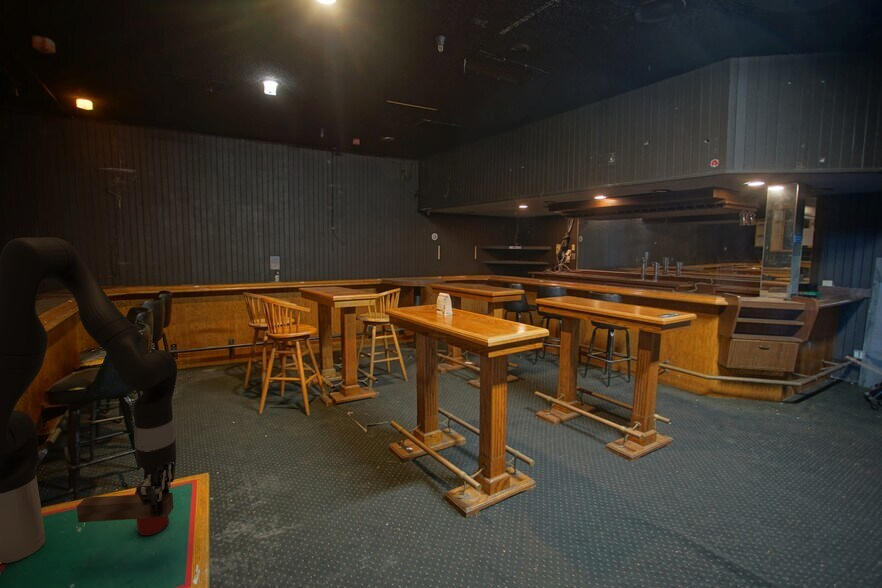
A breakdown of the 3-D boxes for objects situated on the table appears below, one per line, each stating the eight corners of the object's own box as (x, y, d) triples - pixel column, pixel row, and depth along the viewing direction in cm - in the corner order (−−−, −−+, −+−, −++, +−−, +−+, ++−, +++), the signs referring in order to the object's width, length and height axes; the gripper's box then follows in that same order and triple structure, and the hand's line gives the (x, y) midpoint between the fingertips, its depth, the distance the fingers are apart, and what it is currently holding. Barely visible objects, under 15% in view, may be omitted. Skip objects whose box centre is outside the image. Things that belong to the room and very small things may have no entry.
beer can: (153, 538, 105) (149, 494, 103) (131, 534, 106) (126, 490, 104) (175, 520, 112) (171, 478, 110) (153, 516, 113) (149, 475, 111)
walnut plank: (78, 522, 94) (76, 506, 94) (87, 513, 97) (85, 497, 97) (167, 516, 97) (166, 500, 97) (173, 508, 100) (172, 492, 100)
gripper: (152, 426, 102) (157, 492, 105) (118, 458, 88) (125, 533, 91) (186, 425, 103) (190, 490, 106) (159, 456, 89) (164, 530, 92)
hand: (160, 509), depth 98 cm, fingers closed on walnut plank, 3 cm apart
